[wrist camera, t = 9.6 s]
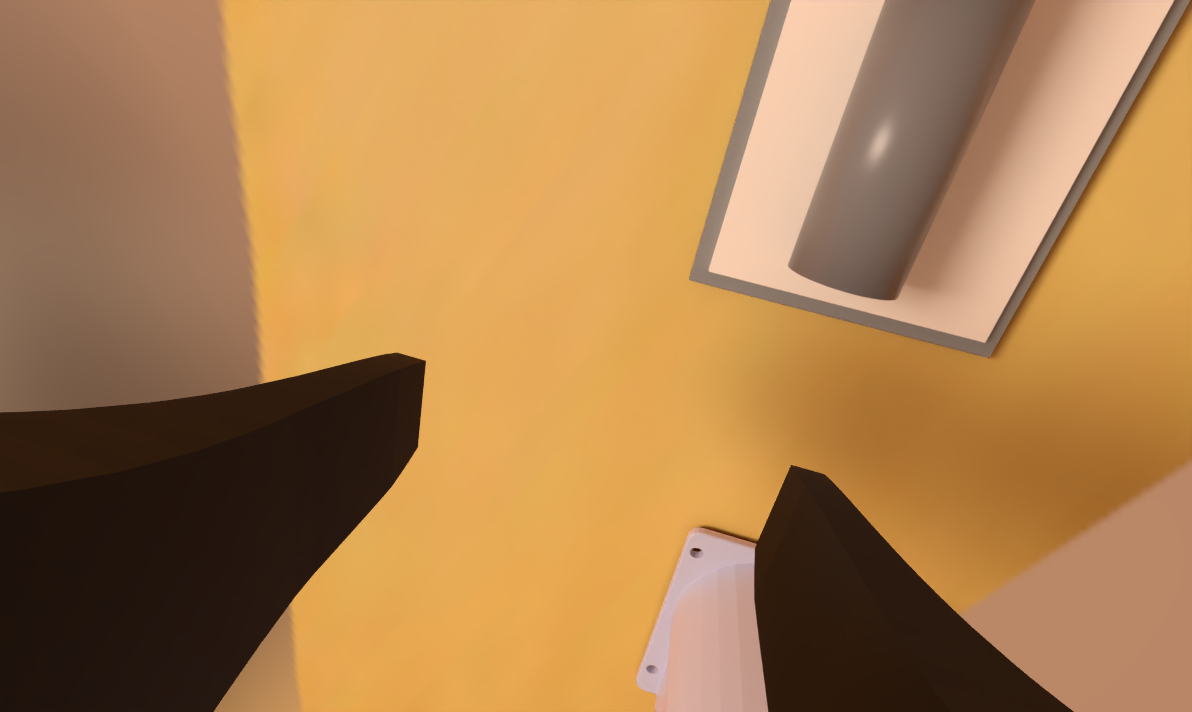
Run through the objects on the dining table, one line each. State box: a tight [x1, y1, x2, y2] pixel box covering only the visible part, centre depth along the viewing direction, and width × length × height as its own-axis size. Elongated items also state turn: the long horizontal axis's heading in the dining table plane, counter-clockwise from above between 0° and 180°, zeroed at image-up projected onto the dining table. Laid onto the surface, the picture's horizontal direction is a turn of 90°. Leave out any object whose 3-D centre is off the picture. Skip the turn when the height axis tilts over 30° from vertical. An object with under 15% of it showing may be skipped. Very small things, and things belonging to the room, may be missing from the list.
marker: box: [788, 0, 1036, 300], centre depth 13 cm, size 10×3×3 cm
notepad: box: [689, 0, 1190, 358], centre depth 15 cm, size 13×10×1 cm
